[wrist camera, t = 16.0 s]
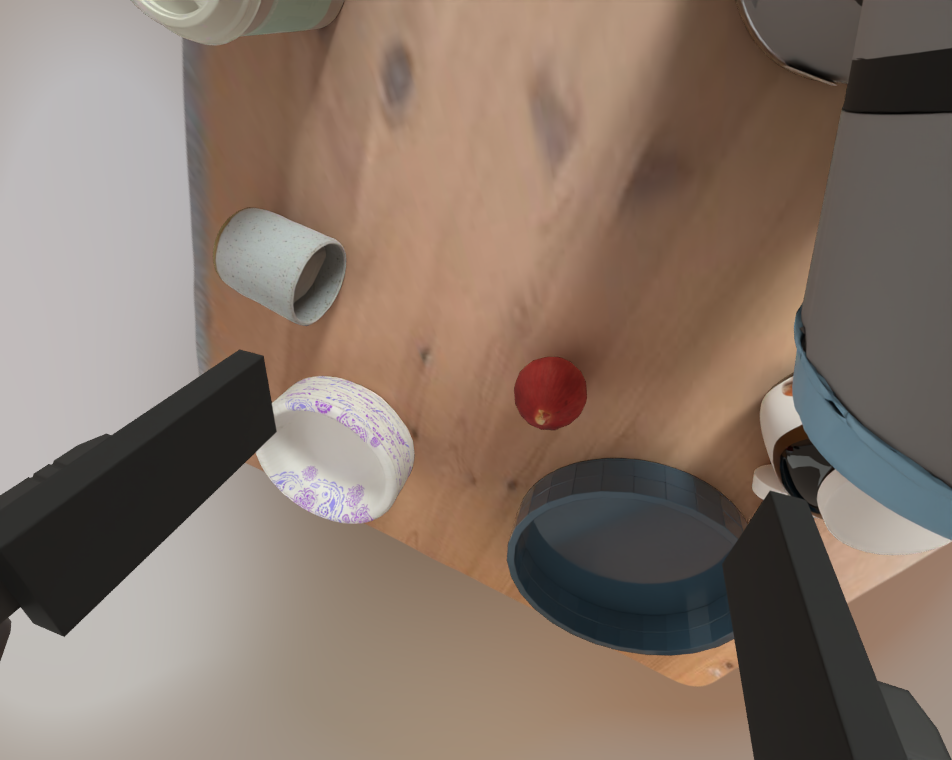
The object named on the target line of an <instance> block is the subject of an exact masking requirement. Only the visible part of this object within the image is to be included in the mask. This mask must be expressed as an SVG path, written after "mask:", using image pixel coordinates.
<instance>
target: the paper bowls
mask: <svg viewBox="0 0 952 760" xmlns="http://www.w3.org/2000/svg"><path fill="white" fill-rule="evenodd" d="M272 407H273V413H274V419H275V424H276V430H277V432H276V433H275V434H274V435H273V436H272V437H271V438H270V439H269V440H268V441H267V442H266V443H265V444H264V445H263V446H262V447H261V448H260V449H259V450H258V451H257V452H256V455H257V457H258V460H259V462H260V464H261V466H262V468H263V469H264V471H265V473H266V474H267V476H268V477H269V478H270V480H271V481H272V482H273V483H274V485H275V486H276V487H277V488H278V489H279V490H280V491H281V492H282V493H283V494H284V495H286V496H287V497H288V498H289V499H290V500H292V501H293V502H294V503H296V504H297V505H299V506H300V507H302V508H303V509H305V510H307V511H309V512H311V513H313V514H315V515H317V516H320V517H322V518H325V519H328V520H331V521H335V522H340V523H349V524H355V523H365V522H369V521H372V520H374V519H377V518H379V517H380V516H382V515H383V514H385V513H386V512H387V511H388V510H389V509H390V508H391V506H392V505H393V503H394V502H395V500H396V498H397V496H398V494H399V492H400V491H401V489H402V488H403V486H404V484H405V482H406V480H407V479H408V477H409V475H410V473H411V471H412V468H413V463H414V445H413V440H412V438H411V436H410V433H409V431H408V429H407V427H406V426H405V424H404V423H403V422H402V420H401V419H400V418H399V416H398V415H397V413H396V412H395V411H394V410H393V409H392V408H391V407H390V406H389V405H388V404H387V402H386V401H384V400H383V399H382V398H381V397H380V396H378V395H377V394H375V393H374V392H372V391H370V390H368V389H367V388H365V387H363V386H361V385H358V384H356V383H354V382H351V381H348V380H344V379H342V378H337V377H328V376H316V377H309V378H306V379H303V380H301V381H298V382H296V383H295V384H294V385H293V386H291V387H290V388H289V389H288V390H287V391H285V392H284V393H283V394H282V395H281V396H279V397H278V398H277V399H276V400H275V401H274V402H273V403H272Z"/></svg>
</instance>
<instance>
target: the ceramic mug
mask: <svg viewBox="0 0 952 760" xmlns="http://www.w3.org/2000/svg"><path fill="white" fill-rule="evenodd" d="M213 261H214V266H215V270H216V272H217V274H218V275H219V277H220V278H221V279H222V280H223V281H224V282H225V283H226V284H227V285H229V286H230V287H231V288H233V289H234V290H236V291H237V292H239V293H240V294H242V295H244V296H246V297H248V298H250V299H252V300H254V301H256V302H258V303H260V304H262V305H263V306H265V307H267V308H269V309H270V310H272V311H274V312H276V313H278V314H279V315H281V316H283V317H285V318H287V319H288V320H290V321H292V322H294V323H296V324H299V325H303V326H308V325H311V324H313V323H314V322H316V321H317V320H318V319H320V318H321V317H322V316H323V315H324V314H325V312H326V311H327V310H328V309H329V308H330V306H331V305H332V303H333V302H334V300H335V298H336V296H337V294H338V293H339V290H340V288H341V285H342V282H343V278H344V275H345V269H346V253H345V250H344V247H343V246H342V244H341V243H340V242H338V241H337V240H335V239H333V238H331V237H329V236H326V235H324V234H322V233H319V232H317V231H315V230H312V229H310V228H308V227H306V226H303V225H301V224H298V223H296V222H293V221H291V220H289V219H287V218H285V217H283V216H281V215H279V214H276V213H273V212H271V211H268V210H263V209H259V208H246V209H242V210H240V211H238V212H236V213H235V214H233V215H232V216H231V217H229V218H228V219H227V221H226V222H225V223H224V224H223V226H222V227H221V229H220V230H219V233H218V235H217V237H216V240H215V242H214V249H213Z"/></svg>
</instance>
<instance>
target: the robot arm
mask: <svg viewBox="0 0 952 760" xmlns="http://www.w3.org/2000/svg"><path fill="white" fill-rule="evenodd" d="M735 1H736V4H737V7H738V10H739V13H740V16H741V18H742V20H743V23H744V25H745V27H746V29H747V31H748V32H749V34H750V35H751V37H752V39H753V40H754V41H755V43H756V44H757V45H758V46H759V48H760V49H761V50H762V51H763V52H764V53H765V54H766V55H767V56H768V57H769V58H770V59H772V60H773V61H774V62H776V63H777V64H778V65H780V66H781V67H783V68H785V69H787V70H788V71H790V72H792V73H794V74H797V75H799V76H802V77H805V78H808V79H812V80H816V81H820V82H824V83H826V84H829V85H832V86H838V85H836V84H833V83H842V84H848V85H847V90H846V95H845V101H844V105H843V107H842V110H841V115H840V120H839V125H838V130H837V135H836V140H835V145H834V150H833V155H832V160H831V165H830V170H829V175H828V180H827V185H826V190H825V195H824V200H823V205H822V210H821V215H820V220H819V225H818V230H817V235H816V240H815V245H814V250H813V255H812V260H811V265H810V270H809V275H808V280H807V285H806V290H805V295H804V300H803V303H802V305H801V306H800V308H799V309H798V311H797V313H796V317H795V323H794V339H795V343H796V347H797V352H796V360H795V368H794V376H793V385H792V395H793V401H794V407H795V409H796V411H797V413H798V414H799V416H800V419H801V422H802V425H803V428H804V431H805V432H806V434H807V435H808V437H809V439H810V441H811V442H812V443H813V445H814V446H815V447H816V448H817V450H818V451H819V452H820V453H821V455H822V456H823V457H824V458H825V459H826V460H827V461H828V462H829V463H830V464H831V465H832V466H833V467H834V468H835V469H836V470H837V471H838V472H839V473H840V474H841V475H842V476H844V477H845V478H846V479H847V480H848V481H850V482H851V483H852V484H853V485H855V486H856V487H857V488H859V489H860V490H861V491H863V492H864V493H866V494H867V495H869V496H870V497H872V498H873V499H875V500H876V501H877V502H879V503H880V504H882V505H883V506H885V507H886V508H888V509H890V510H891V511H893V512H895V513H897V514H898V515H900V516H902V517H904V518H906V519H908V520H909V521H911V522H913V523H915V524H917V525H919V526H921V527H923V528H925V529H927V530H929V531H931V532H933V533H936V534H938V535H940V536H942V537H944V538H947V539H949V540H952V0H735ZM276 432H277V430H276V424H275V419H274V413H273V407H272V401H271V396H270V390H269V384H268V379H267V373H266V367H265V362H264V356H262V355H258V354H255V353H251V352H247V351H243V350H238V351H237V352H235V353H234V354H232V355H231V356H229V357H228V358H226V359H225V360H223V361H222V362H220V363H219V364H217V365H216V366H214V367H213V368H211V369H210V370H208V371H207V372H205V373H204V374H202V375H201V376H199V377H198V378H196V379H195V380H193V381H192V382H190V383H189V384H188V385H186V386H184V387H183V388H181V389H180V390H178V391H177V392H175V393H174V394H173V395H171V396H170V397H168V398H167V399H165V400H164V401H162V402H161V403H159V404H158V405H156V406H155V407H153V408H152V409H150V410H149V411H147V412H146V413H144V414H143V415H141V416H140V417H138V418H137V419H135V420H134V421H132V422H131V423H129V424H128V425H126V426H125V427H123V428H122V429H120V430H119V431H117V432H116V433H114V434H113V435H109V434H104V435H102V436H99V437H97V438H95V439H92V440H90V441H87V442H85V443H82V444H80V445H78V446H76V447H74V448H73V449H71V450H70V451H68V452H67V453H65V454H64V455H62V456H61V457H59V458H57V459H56V460H54V463H53V464H52V465H50V464H48V465H47V466H45V467H44V468H42V469H41V470H39V471H37V472H36V473H34V475H33V477H32V478H29V477H28V478H27V479H25V480H24V481H22V482H21V483H19V484H18V485H16V486H14V487H13V488H11V489H10V490H8V491H7V492H5V493H3V494H2V495H0V660H1V657H2V655H3V652H4V649H5V646H6V643H7V640H8V637H9V635H10V631H11V621H10V619H9V618H8V617H9V616H10V615H12V614H13V613H14V612H15V611H16V610H17V609H19V608H20V607H21V608H22V609H23V610H24V612H25V613H26V614H27V616H28V617H29V618H30V620H31V621H32V622H33V623H34V624H36V625H38V626H40V627H43V628H45V629H47V630H50V631H52V632H54V633H57V634H59V635H61V636H64V637H65V636H66V635H67V634H68V633H69V632H70V631H71V630H72V629H73V628H74V627H75V626H76V625H77V624H78V623H79V622H80V621H81V620H82V619H83V618H84V617H85V616H86V615H87V614H88V613H89V612H91V611H92V609H94V608H95V607H96V606H97V605H98V604H99V603H100V602H101V601H102V600H103V599H104V598H105V597H106V596H107V595H108V594H109V593H110V592H111V591H112V590H113V589H114V588H115V587H116V586H118V585H119V584H120V583H121V582H122V581H123V580H124V579H125V578H126V577H127V576H128V575H129V574H130V573H131V572H132V571H133V570H134V569H135V568H136V567H137V566H138V565H139V564H140V563H141V562H142V561H143V560H144V559H146V557H147V556H149V555H150V553H152V552H153V551H154V550H155V549H156V548H157V547H158V546H159V545H160V544H161V543H162V542H163V541H164V540H165V539H166V538H167V537H168V536H169V535H170V534H171V533H172V532H174V530H175V529H177V528H178V526H180V525H181V524H182V523H183V522H184V521H185V520H186V519H187V518H188V517H189V516H190V515H191V514H192V513H193V512H194V511H195V510H196V509H197V508H198V507H199V506H200V505H201V504H203V503H204V502H205V501H206V499H208V498H209V497H210V496H211V495H212V494H213V493H214V492H215V491H216V490H217V489H218V488H219V487H220V486H221V485H222V484H223V483H224V482H225V481H226V480H227V479H228V478H229V477H231V476H232V475H233V474H234V473H235V472H236V471H237V470H238V469H239V468H240V467H241V466H242V465H243V464H244V463H245V462H246V461H247V460H248V459H249V458H250V457H251V456H252V455H253V454H254V453H255V452H257V451H258V450H259V449H260V448H261V447H262V446H263V445H264V444H265V443H266V442H267V441H268V440H269V439H270V438H271V437H272V436H273V435H274V434H275V433H276ZM722 567H723V573H724V579H725V585H726V591H727V598H728V604H729V610H730V616H731V622H732V628H733V634H734V640H735V646H736V652H737V658H738V664H739V670H740V676H741V681H742V688H743V694H744V700H745V706H746V712H747V718H748V724H749V731H750V736H751V743H752V748H753V754H754V760H951V758H950V755H949V753H948V751H947V749H946V746H945V744H944V742H943V740H942V738H941V736H940V733H939V731H938V729H937V728H936V726H935V725H934V724H933V722H932V721H931V720H930V718H929V717H928V716H927V715H926V713H925V712H924V711H923V709H922V708H921V707H920V705H919V704H918V703H917V701H916V700H915V699H914V697H913V696H912V695H911V694H910V692H909V691H908V690H904V689H902V688H898V687H895V686H892V685H889V684H886V683H883V682H880V681H877V679H876V676H875V674H874V671H873V669H872V666H871V664H870V661H869V658H868V656H867V653H866V651H865V648H864V646H863V643H862V641H861V638H860V635H859V633H858V630H857V628H856V625H855V623H854V620H853V618H852V615H851V613H850V610H849V607H848V605H847V602H846V600H845V597H844V595H843V592H842V590H841V587H840V584H839V582H838V579H837V577H836V574H835V572H834V569H833V567H832V564H831V561H830V559H829V556H828V554H827V551H826V549H825V546H824V544H823V541H822V538H821V536H820V533H819V531H818V528H817V526H816V523H815V521H814V518H813V515H812V513H811V510H810V508H809V505H808V503H807V500H804V499H800V498H797V497H793V496H789V495H785V494H782V493H778V492H774V491H769V493H768V494H767V496H766V497H765V499H764V500H763V502H762V503H761V505H760V506H759V508H758V510H757V511H756V513H755V514H754V516H753V517H752V519H751V520H750V522H749V523H748V525H747V526H746V528H745V530H744V531H743V533H742V534H741V536H740V537H739V539H738V540H737V542H736V543H735V545H734V547H733V548H732V550H731V551H730V553H729V554H728V556H727V557H726V559H725V560H724V562H723V564H722Z"/></svg>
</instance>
